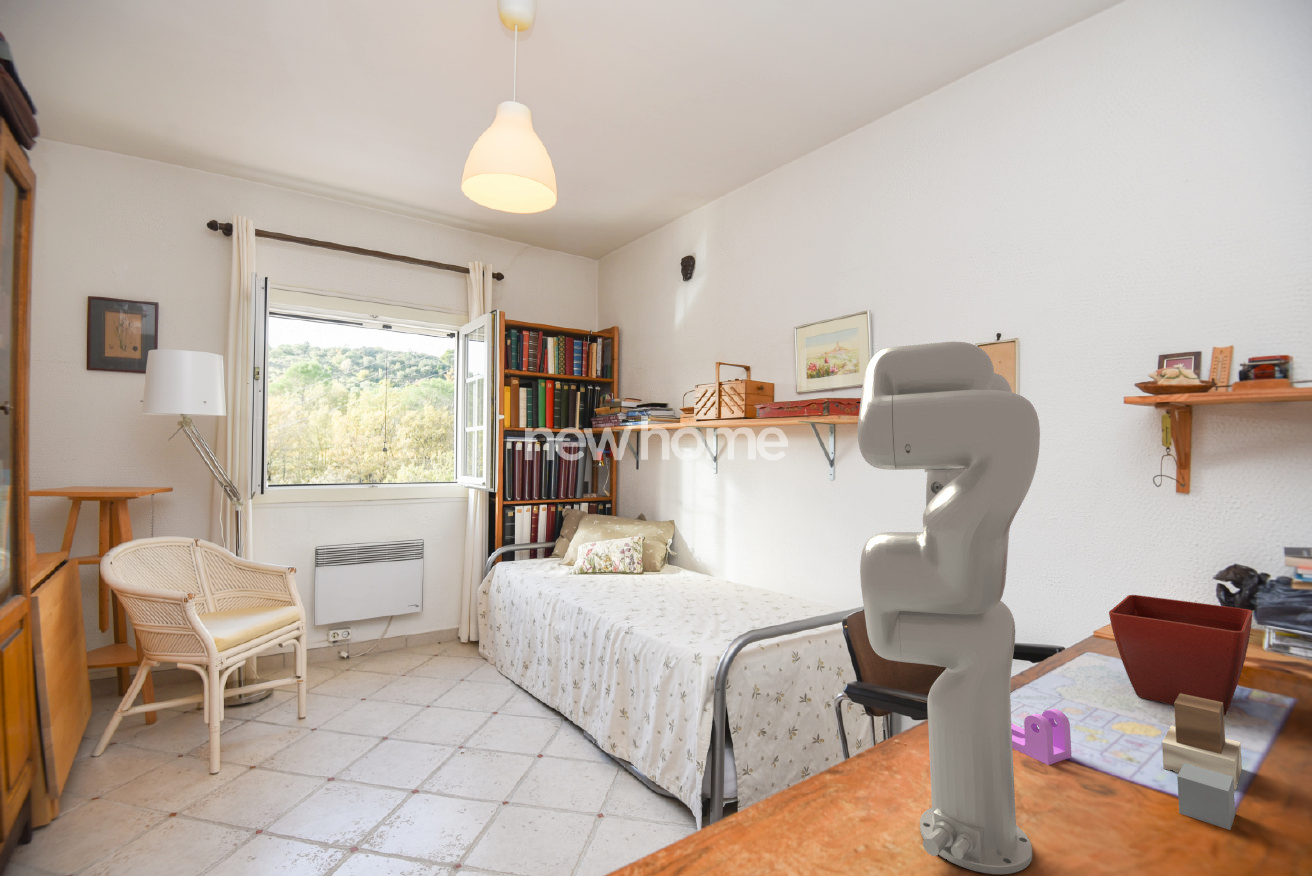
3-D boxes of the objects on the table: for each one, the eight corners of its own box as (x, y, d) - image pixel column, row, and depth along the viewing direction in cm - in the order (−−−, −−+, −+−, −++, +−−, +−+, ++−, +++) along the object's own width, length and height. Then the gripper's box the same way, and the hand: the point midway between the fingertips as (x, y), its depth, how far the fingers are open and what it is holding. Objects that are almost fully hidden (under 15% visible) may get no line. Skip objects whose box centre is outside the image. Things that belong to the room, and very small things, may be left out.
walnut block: (1221, 754, 87) (1218, 712, 88) (1176, 742, 91) (1174, 702, 91) (1225, 742, 91) (1223, 702, 91) (1181, 731, 94) (1179, 693, 95)
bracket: (1071, 758, 96) (1069, 714, 96) (1048, 766, 93) (1046, 721, 94) (997, 724, 108) (995, 686, 108) (975, 731, 105) (973, 691, 106)
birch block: (1236, 789, 85) (1234, 761, 85) (1163, 768, 91) (1162, 742, 91) (1242, 768, 90) (1240, 742, 91) (1172, 750, 97) (1171, 725, 97)
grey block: (1230, 830, 77) (1228, 791, 77) (1179, 813, 80) (1177, 776, 81) (1235, 814, 80) (1233, 776, 80) (1186, 798, 84) (1184, 762, 84)
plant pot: (1249, 730, 102) (1243, 631, 103) (1111, 698, 117) (1107, 611, 117) (1258, 697, 115) (1253, 609, 115) (1133, 672, 129) (1129, 594, 130)
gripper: (948, 465, 95) (953, 573, 94) (990, 461, 106) (995, 557, 106) (903, 465, 100) (907, 567, 100) (947, 461, 112) (951, 553, 111)
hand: (952, 562), depth 103 cm, fingers open, 9 cm apart
